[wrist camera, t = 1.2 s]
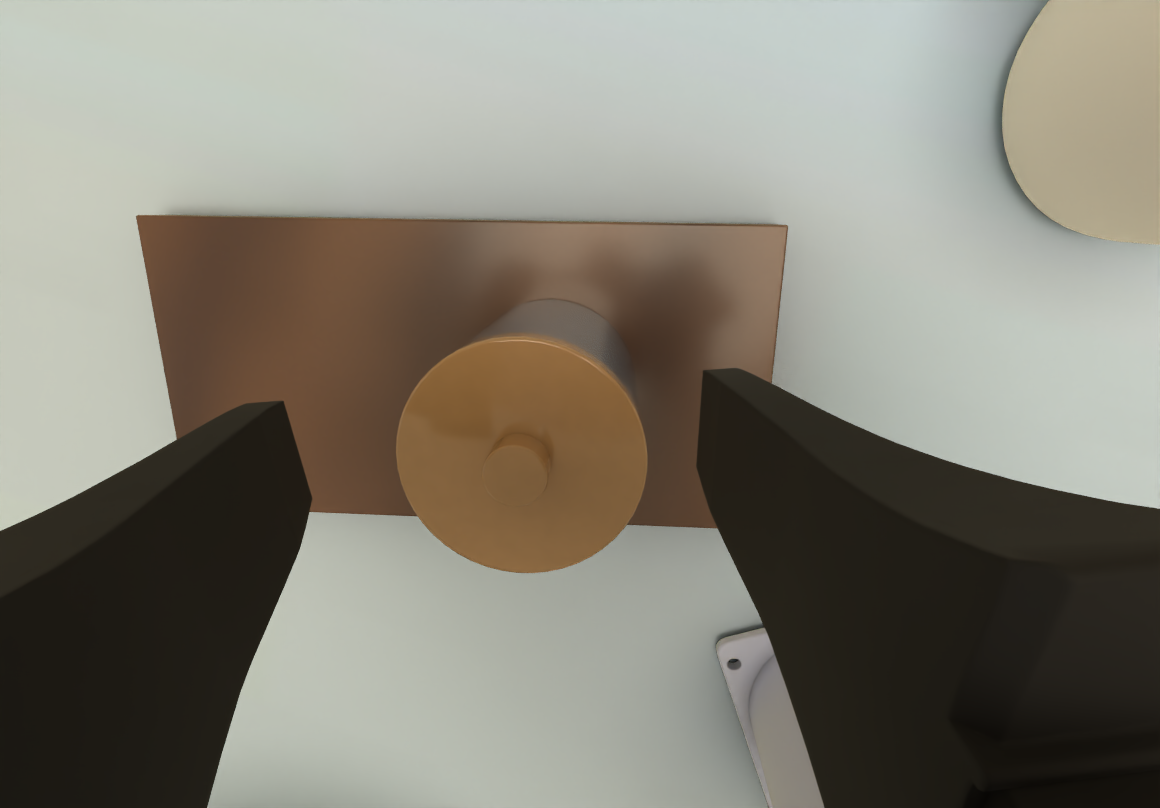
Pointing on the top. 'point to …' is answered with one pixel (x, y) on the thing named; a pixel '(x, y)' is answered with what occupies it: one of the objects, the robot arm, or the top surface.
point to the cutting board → (446, 326)
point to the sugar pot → (527, 440)
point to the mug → (1089, 117)
